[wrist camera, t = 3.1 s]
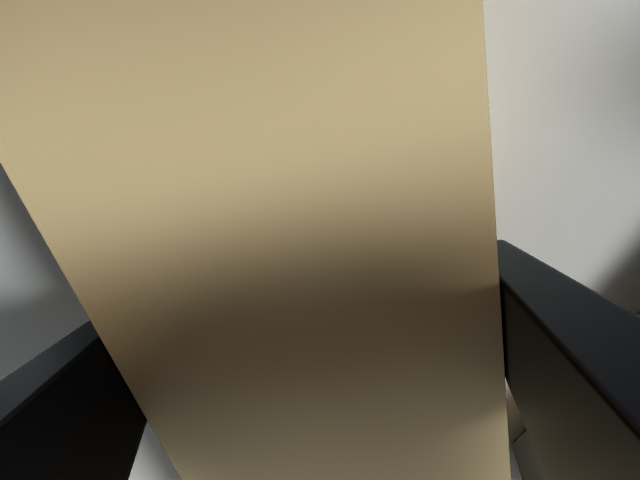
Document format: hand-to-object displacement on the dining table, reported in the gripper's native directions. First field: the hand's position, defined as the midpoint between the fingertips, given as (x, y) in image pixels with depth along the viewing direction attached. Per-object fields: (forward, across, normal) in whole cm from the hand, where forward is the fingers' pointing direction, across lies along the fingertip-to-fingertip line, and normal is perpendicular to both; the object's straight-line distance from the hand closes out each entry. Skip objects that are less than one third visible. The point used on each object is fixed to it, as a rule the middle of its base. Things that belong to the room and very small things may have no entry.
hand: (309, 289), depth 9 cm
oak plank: (+1, 0, 0) cm, 1 cm away
